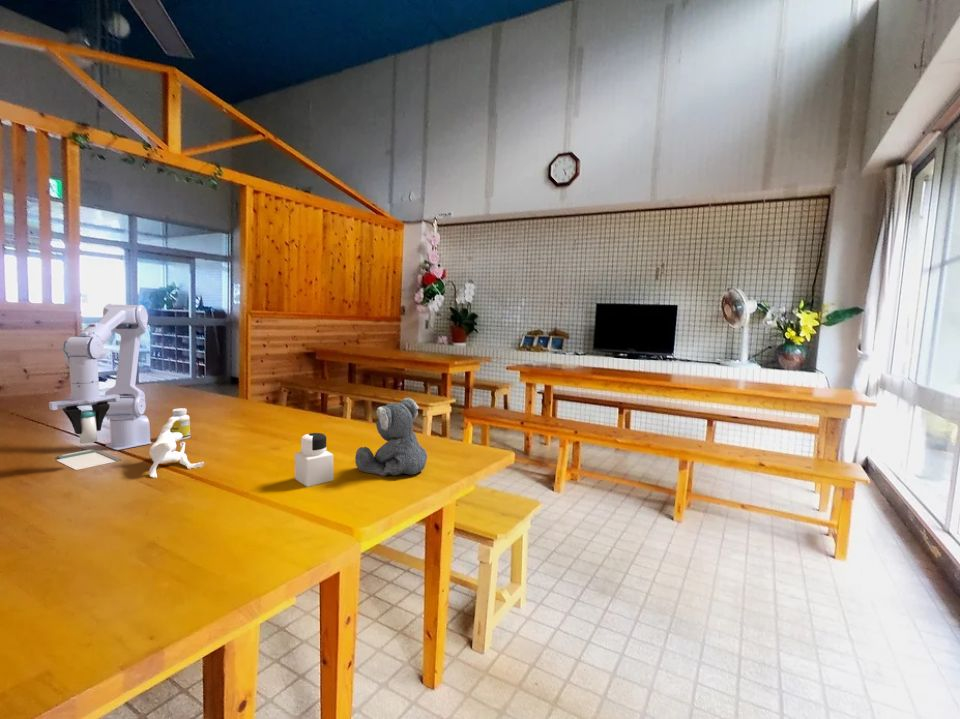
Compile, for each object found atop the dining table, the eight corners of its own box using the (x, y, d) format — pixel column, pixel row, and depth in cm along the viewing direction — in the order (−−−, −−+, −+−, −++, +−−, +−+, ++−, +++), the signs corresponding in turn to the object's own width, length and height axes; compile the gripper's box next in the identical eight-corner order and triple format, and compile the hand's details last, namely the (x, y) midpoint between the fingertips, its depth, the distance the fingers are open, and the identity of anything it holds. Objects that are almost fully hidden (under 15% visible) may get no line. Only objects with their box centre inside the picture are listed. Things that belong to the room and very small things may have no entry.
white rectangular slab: (99, 451, 137) (99, 450, 137) (120, 460, 130) (120, 459, 130) (56, 460, 129) (56, 458, 129) (75, 470, 122) (75, 468, 122)
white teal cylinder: (94, 438, 127) (92, 409, 126) (100, 441, 125) (98, 411, 124) (77, 441, 124) (75, 411, 123) (82, 444, 122) (80, 413, 121)
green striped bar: (92, 451, 138) (92, 448, 138) (95, 452, 137) (94, 449, 137) (57, 457, 131) (57, 455, 131) (60, 459, 130) (59, 456, 130)
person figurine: (199, 431, 123) (176, 409, 134) (143, 450, 114) (123, 425, 125) (209, 472, 128) (186, 448, 139) (156, 494, 119) (136, 466, 130)
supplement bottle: (167, 438, 152) (166, 409, 152) (184, 435, 157) (183, 407, 156) (177, 441, 150) (175, 411, 149) (193, 437, 155) (192, 408, 154)
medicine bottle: (321, 473, 124) (320, 429, 123) (333, 480, 119) (333, 435, 118) (294, 479, 119) (294, 434, 118) (306, 487, 114) (306, 440, 113)
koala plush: (393, 455, 141) (393, 392, 139) (440, 466, 132) (442, 399, 130) (350, 471, 126) (350, 400, 124) (400, 485, 117) (401, 409, 115)
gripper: (54, 387, 114) (58, 440, 116) (123, 380, 127) (126, 428, 128) (44, 384, 118) (48, 435, 119) (112, 377, 130) (115, 424, 132)
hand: (88, 431), depth 124 cm, fingers closed on white teal cylinder, 4 cm apart
